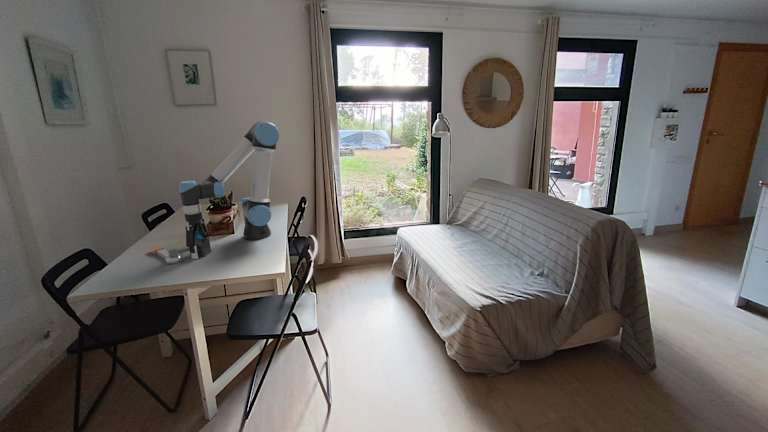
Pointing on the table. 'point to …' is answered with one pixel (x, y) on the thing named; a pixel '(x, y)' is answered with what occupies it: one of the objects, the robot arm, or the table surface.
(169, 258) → the ratchet
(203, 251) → the dark charcoal cube
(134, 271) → the table surface
